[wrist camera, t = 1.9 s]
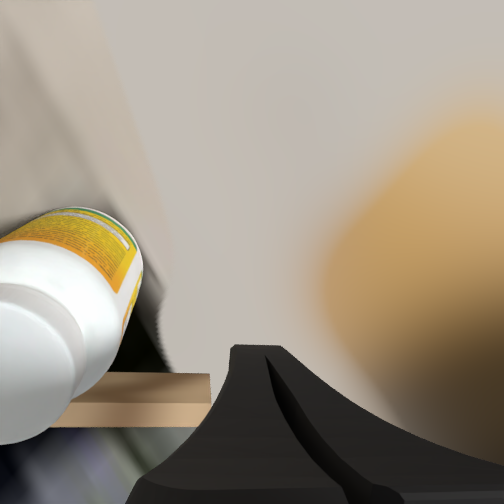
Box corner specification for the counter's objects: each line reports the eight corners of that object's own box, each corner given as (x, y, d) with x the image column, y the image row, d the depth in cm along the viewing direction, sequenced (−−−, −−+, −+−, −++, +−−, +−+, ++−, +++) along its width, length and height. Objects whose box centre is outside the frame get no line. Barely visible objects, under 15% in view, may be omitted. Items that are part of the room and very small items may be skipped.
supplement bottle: (154, 308, 21) (124, 450, 12) (36, 328, 21) (-89, 490, 11) (130, 195, 20) (75, 257, 10) (3, 213, 19) (-173, 295, 10)
